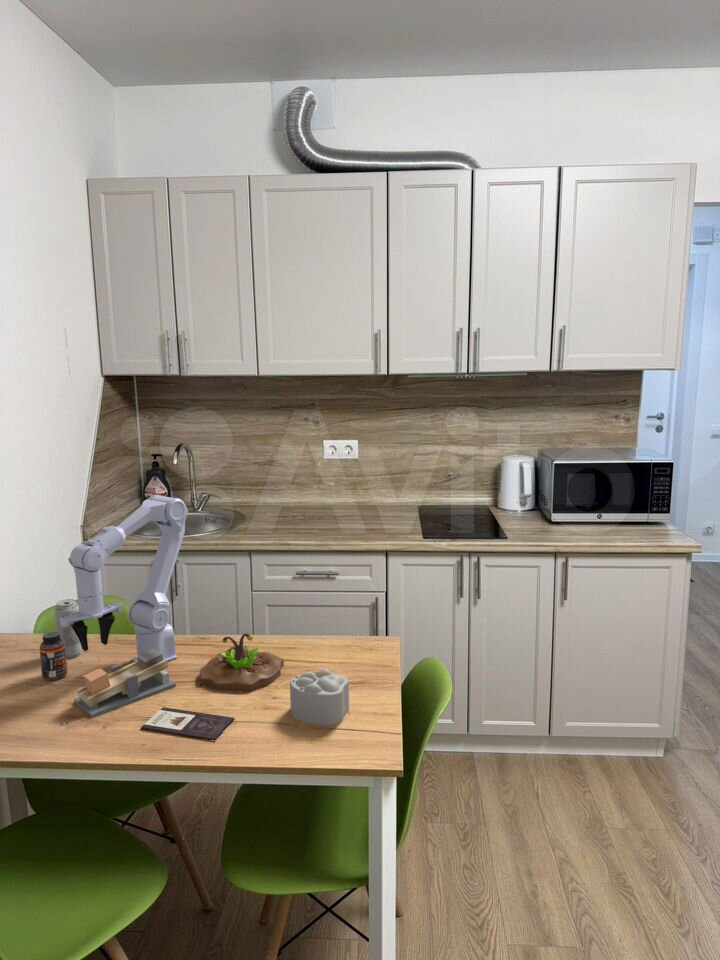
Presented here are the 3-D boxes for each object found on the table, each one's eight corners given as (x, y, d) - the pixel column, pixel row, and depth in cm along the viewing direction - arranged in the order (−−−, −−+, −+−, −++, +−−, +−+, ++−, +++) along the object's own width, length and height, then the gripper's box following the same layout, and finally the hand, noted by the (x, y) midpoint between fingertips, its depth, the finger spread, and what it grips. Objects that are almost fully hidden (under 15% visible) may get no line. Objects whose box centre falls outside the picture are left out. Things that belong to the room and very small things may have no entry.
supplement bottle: (58, 682, 177) (54, 639, 175) (37, 680, 178) (32, 638, 176) (72, 671, 182) (68, 630, 180) (52, 670, 184) (47, 628, 182)
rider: (103, 682, 168) (99, 668, 167) (111, 688, 165) (107, 673, 164) (87, 690, 165) (83, 675, 164) (94, 696, 163) (90, 681, 161)
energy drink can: (77, 648, 197) (72, 596, 194) (86, 654, 193) (81, 602, 190) (55, 654, 193) (50, 602, 190) (64, 661, 189) (58, 608, 186)
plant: (259, 698, 168) (257, 654, 166) (187, 687, 174) (185, 644, 172) (293, 663, 187) (292, 622, 184) (227, 653, 193) (225, 614, 191)
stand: (156, 673, 181) (154, 651, 180) (175, 686, 174) (174, 663, 173) (74, 702, 167) (71, 678, 166) (91, 717, 160) (89, 693, 158)
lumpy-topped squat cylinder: (338, 727, 154) (337, 690, 152) (283, 719, 158) (281, 683, 156) (352, 704, 164) (351, 669, 162) (299, 697, 167) (298, 663, 166)
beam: (156, 663, 179) (153, 646, 177) (169, 671, 174) (165, 654, 173) (80, 701, 166) (75, 683, 164) (91, 711, 161) (86, 692, 160)
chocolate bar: (215, 739, 149) (140, 727, 154) (215, 743, 149) (141, 731, 154) (234, 717, 158) (163, 707, 163) (234, 721, 158) (163, 711, 163)
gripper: (66, 605, 164) (71, 660, 166) (125, 590, 173) (130, 642, 176) (54, 598, 169) (60, 651, 171) (113, 583, 178) (117, 634, 181)
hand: (94, 646), depth 174 cm, fingers open, 4 cm apart
